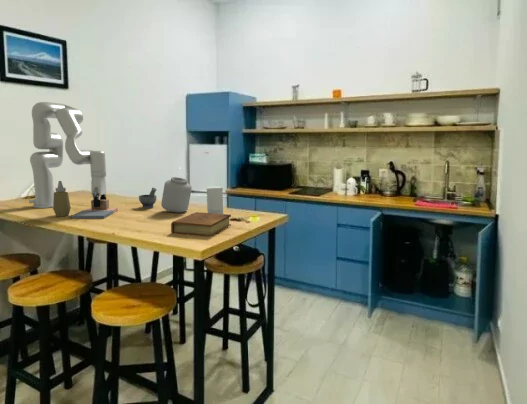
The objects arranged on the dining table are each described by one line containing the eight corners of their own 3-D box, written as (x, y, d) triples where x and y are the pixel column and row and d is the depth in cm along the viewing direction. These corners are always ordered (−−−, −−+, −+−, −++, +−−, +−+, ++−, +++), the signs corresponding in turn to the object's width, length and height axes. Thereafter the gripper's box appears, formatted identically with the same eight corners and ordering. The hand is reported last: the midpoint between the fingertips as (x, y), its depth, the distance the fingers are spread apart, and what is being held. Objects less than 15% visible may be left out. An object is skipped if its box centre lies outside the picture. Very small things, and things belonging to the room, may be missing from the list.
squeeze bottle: (74, 214, 204) (72, 180, 201) (62, 217, 196) (59, 182, 193) (62, 213, 206) (60, 179, 204) (49, 216, 199) (47, 181, 196)
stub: (82, 212, 208) (81, 201, 207) (88, 210, 216) (87, 198, 215) (113, 212, 209) (112, 201, 208) (117, 210, 217) (117, 198, 216)
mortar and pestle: (135, 207, 226) (135, 187, 224) (146, 205, 234) (146, 185, 232) (151, 209, 221) (150, 188, 219) (161, 207, 230) (161, 186, 228)
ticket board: (71, 218, 194) (71, 215, 194) (82, 213, 208) (82, 210, 208) (104, 218, 195) (104, 215, 195) (113, 213, 209) (112, 210, 209)
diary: (194, 223, 190) (194, 212, 189) (230, 226, 184) (230, 214, 184) (171, 234, 168) (170, 221, 167) (211, 237, 163) (211, 224, 162)
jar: (199, 210, 220) (199, 166, 216) (187, 215, 206) (186, 168, 202) (170, 208, 226) (169, 165, 222) (156, 212, 212) (154, 166, 208)
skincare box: (222, 214, 209) (222, 186, 206) (223, 217, 202) (223, 187, 200) (206, 215, 207) (206, 186, 205) (207, 217, 201) (206, 187, 198)
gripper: (97, 172, 218) (98, 202, 220) (85, 175, 201) (87, 208, 203) (110, 172, 218) (112, 202, 221) (100, 175, 201) (102, 208, 204)
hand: (100, 205), depth 212 cm, fingers open, 9 cm apart
